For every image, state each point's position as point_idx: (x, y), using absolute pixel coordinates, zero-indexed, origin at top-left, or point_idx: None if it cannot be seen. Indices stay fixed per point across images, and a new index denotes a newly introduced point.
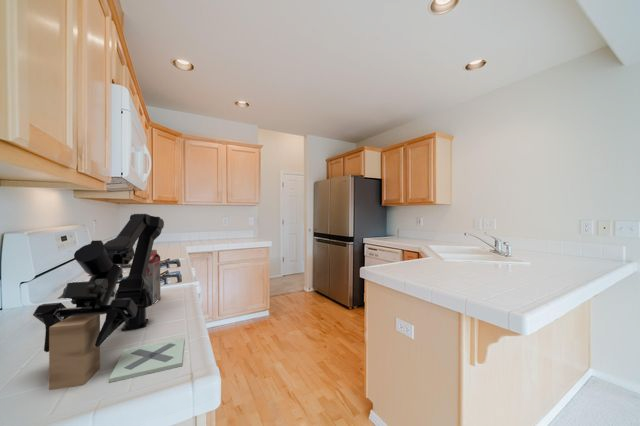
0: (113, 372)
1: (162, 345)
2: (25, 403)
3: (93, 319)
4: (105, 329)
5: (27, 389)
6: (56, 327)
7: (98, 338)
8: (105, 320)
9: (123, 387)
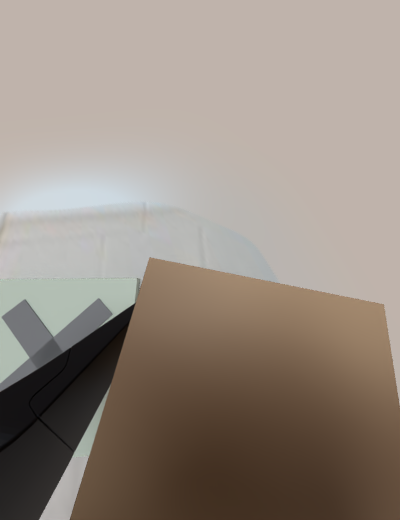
0: (132, 302)
1: None
2: (251, 273)
3: (105, 417)
4: (78, 343)
5: None
6: (327, 294)
7: (126, 315)
8: (31, 418)
9: (113, 251)
